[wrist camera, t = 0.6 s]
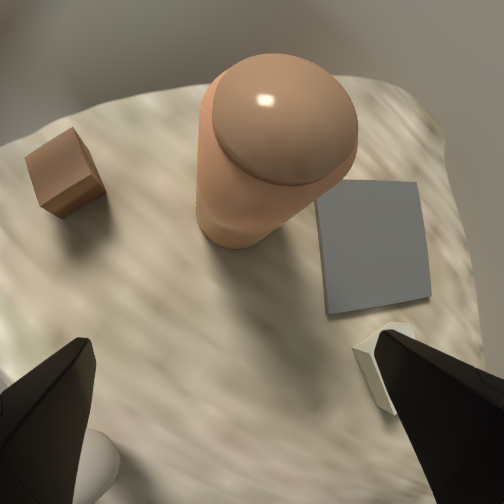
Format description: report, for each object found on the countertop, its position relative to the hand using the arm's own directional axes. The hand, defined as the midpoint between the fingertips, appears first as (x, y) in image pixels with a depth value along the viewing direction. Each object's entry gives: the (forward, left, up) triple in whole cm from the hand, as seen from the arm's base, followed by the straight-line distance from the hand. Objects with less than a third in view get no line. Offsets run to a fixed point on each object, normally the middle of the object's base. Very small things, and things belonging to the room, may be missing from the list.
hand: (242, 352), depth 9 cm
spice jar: (+7, -2, -13) cm, 15 cm away
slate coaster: (+4, -13, -13) cm, 19 cm away
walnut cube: (+10, +10, -13) cm, 20 cm away
